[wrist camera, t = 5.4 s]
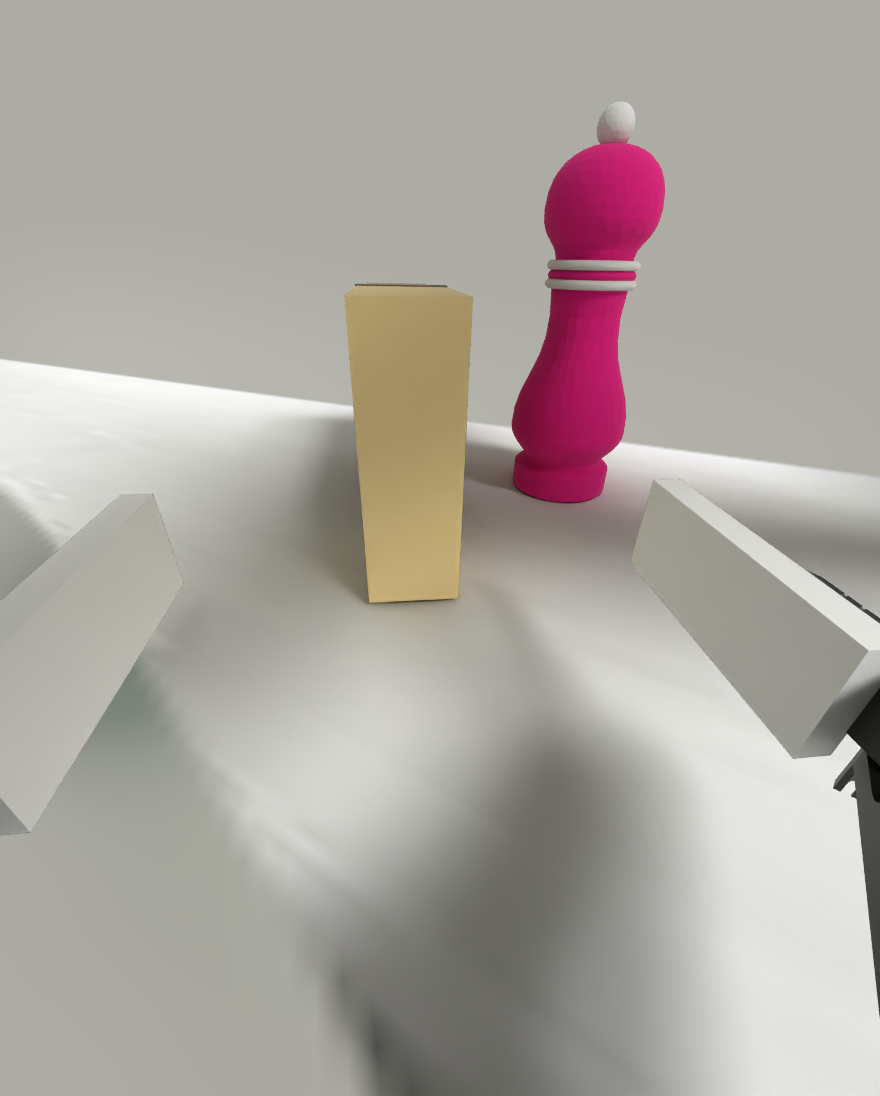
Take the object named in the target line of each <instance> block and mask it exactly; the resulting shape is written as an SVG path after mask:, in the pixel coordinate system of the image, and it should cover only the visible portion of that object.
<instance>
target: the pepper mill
mask: <svg viewBox="0 0 880 1096" xmlns="http://www.w3.org/2000/svg"><path fill="white" fill-rule="evenodd" d="M634 126H635V113H634V111H633V109H632V107H631V106H630V105H629V104H628V103H626V102H616V103H613V104H612V105H610V106H609V107H607V108H606V110H605V111H604V112H603V114H602V115H601V117H600V119H599V122H598V126H597V138H598V140H599V143H600V145H595V146H592V147H590V148H587V149H585V150H583V151H581V152H579V153H578V154H576V155H574V156H573V157H572V158H571V159H570V160H568V161H567V162H566V163H565V164H564V166H563V167H562V168H561V169H560V171H559V172H558V173H557V175H556V177H555V178H554V180H553V182H552V185H551V187H550V190H549V192H548V196H547V201H546V206H545V215H544V224H545V229H546V233H547V235H548V237H549V239H550V241H551V243H552V245H553V247H554V250H555V255H556V260H550V261H549V262H548V264H547V265H548V268H549V269H551V271H550V272H549V273H548V277H549V279H547V280H546V282H545V285H546V286H547V287H548V288H551V306H550V317H549V322H548V328H547V333H546V337H545V340H544V343H543V346H542V349H541V352H540V354H539V356H538V358H537V361H536V362H535V364H534V366H533V368H532V370H531V372H530V374H529V376H528V378H527V380H526V381H525V383H524V385H523V387H522V389H521V391H520V394H519V397H518V399H517V402H516V404H515V408H514V413H513V418H512V431H513V433H514V436H515V438H516V439H517V441H518V442H519V444H520V445H521V447H522V448H523V449H524V450H523V451H521V452H520V453H519V454H518V455H517V456H516V458H515V465H514V474H513V481H514V483H515V485H516V486H517V488H518V489H520V490H521V491H523V492H524V493H526V494H528V495H530V496H533V497H536V498H539V499H543V500H548V501H553V502H565V503H567V502H581V501H586V500H591V499H593V498H595V497H597V496H598V495H600V493H601V492H602V490H603V487H604V482H605V477H606V473H607V465H606V464H605V462H604V461H603V460H602V459H601V458H603V457H604V456H605V455H607V454H608V453H609V452H611V451H612V450H613V449H614V448H615V447H616V446H617V445H618V444H619V442H620V441H621V439H622V436H623V433H624V427H625V420H626V405H625V395H624V390H623V384H622V379H621V375H620V369H619V362H618V334H619V326H620V318H621V314H622V310H623V307H624V303H625V299H626V295H627V292H628V291H630V290H633V289H635V288H636V282H635V281H634V280H635V278H636V273H635V272H634V271H637V270H638V269H639V268H640V266H641V265H640V263H639V262H638V261H634V257H635V255H636V253H637V251H638V250H639V249H640V247H641V246H642V245H643V244H644V243H645V242H646V241H647V240H648V239H649V237H650V236H651V235H652V234H653V232H654V231H655V229H656V227H657V225H658V223H659V221H660V217H661V214H662V211H663V205H664V196H665V184H664V177H663V173H662V169H661V168H660V165H659V164H658V162H657V161H656V160H655V158H654V157H653V156H652V155H651V154H650V153H649V152H647V151H646V150H644V149H642V148H640V147H638V146H635V145H631V144H627V141H628V140H629V138H630V137H631V135H632V133H633V130H634Z"/></svg>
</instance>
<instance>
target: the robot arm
mask: <svg viewBox="0 0 880 1096" xmlns="http://www.w3.org/2000/svg"><path fill="white" fill-rule="evenodd" d="M630 563H631V564H632V565H633V567H634V568H635V569H636V570H637V571H638V573H639V574H640V575H641V576H642V577H643V579H644V580H645V581H646V582H647V584H648V585H649V586H650V587H651V588H652V590H653V591H654V592H655V593H656V594H657V596H658V597H659V598H660V599H661V600H662V602H663V603H664V604H665V605H666V606H667V608H668V609H669V610H670V611H671V612H672V614H673V615H674V616H675V617H676V618H677V620H678V621H679V622H680V623H681V624H682V626H683V627H684V628H685V629H686V630H687V632H688V633H689V634H690V635H691V636H692V638H693V639H694V640H695V641H696V642H697V644H698V645H699V646H700V647H701V648H702V650H703V651H704V652H705V653H706V654H707V656H708V657H709V658H710V659H711V661H712V662H713V663H714V664H715V665H716V667H717V668H718V669H719V670H720V671H721V673H722V674H723V675H724V676H725V677H726V679H727V680H728V681H729V682H730V683H731V685H732V686H733V687H734V688H735V689H736V691H737V692H738V693H739V694H740V695H741V697H742V698H743V699H744V700H745V701H746V703H747V704H748V705H749V706H750V707H751V709H752V710H753V711H754V712H755V713H756V715H757V716H758V717H759V718H760V719H761V721H762V722H763V723H764V724H765V725H766V727H767V728H768V729H769V730H770V731H771V733H772V734H773V735H774V736H775V737H776V739H777V740H778V741H779V742H780V744H781V745H782V746H783V747H784V748H785V750H786V751H787V752H788V753H789V754H790V756H791V757H792V758H793V759H796V758H807V757H817V756H827V755H831V754H832V753H833V751H834V750H835V749H836V747H837V746H838V745H839V743H840V742H841V741H842V739H843V738H844V737H845V736H846V734H848V735H849V736H850V737H851V738H852V739H853V740H854V741H855V742H856V743H857V744H858V745H859V746H860V747H861V749H860V750H859V751H858V753H857V754H856V755H855V756H854V758H853V759H852V760H851V761H850V763H849V764H848V765H847V766H846V768H845V769H844V770H843V771H842V772H841V774H840V775H839V776H838V777H837V779H836V780H835V783H834V787H833V788H834V789H836V790H838V791H841V790H842V789H843V788H844V787H845V786H846V784H847V783H848V782H850V781H855V788H856V790H855V791H854V792H853V793H852V794H851V797H854V798H856V799H857V807H858V816H859V826H860V835H861V845H862V854H863V864H864V873H865V883H866V892H867V902H868V911H869V921H870V930H871V940H872V949H873V959H874V968H875V977H876V987H877V996H878V1006H879V1015H880V618H878V617H877V616H876V615H874V614H873V613H871V612H870V611H869V610H867V609H862V605H860V604H859V603H857V602H856V601H855V600H853V599H852V598H850V597H849V596H844V593H843V592H842V591H841V590H839V589H838V588H836V587H835V586H834V585H832V584H831V583H829V582H828V581H827V580H825V579H824V578H822V577H820V576H818V575H816V574H814V573H812V572H809V571H807V570H805V569H803V568H802V567H801V566H799V565H798V564H797V563H795V562H794V561H792V560H791V559H790V558H788V557H787V556H785V555H784V554H783V553H781V552H780V551H779V550H777V549H776V548H774V547H773V546H772V545H770V544H769V543H767V542H766V541H765V540H763V539H762V538H761V537H759V536H758V535H756V534H755V533H754V532H752V531H751V530H749V529H748V528H747V527H745V526H744V525H743V524H741V523H740V522H738V521H737V520H736V519H734V518H733V517H731V516H730V515H729V514H727V513H726V512H725V511H723V510H722V509H720V508H719V507H718V506H716V505H715V504H713V503H712V502H711V501H709V500H708V499H707V498H705V497H704V496H702V495H701V494H700V493H698V492H697V491H695V490H694V489H693V488H691V487H690V486H689V485H687V484H686V483H684V482H683V481H682V480H680V479H660V480H653V483H652V487H651V490H650V494H649V497H648V501H647V504H646V508H645V512H644V515H643V519H642V522H641V526H640V529H639V533H638V536H637V540H636V543H635V547H634V550H633V554H632V557H631V561H630ZM183 585H184V582H183V579H182V576H181V573H180V570H179V568H178V565H177V562H176V559H175V556H174V553H173V550H172V547H171V544H170V541H169V538H168V535H167V533H166V530H165V527H164V524H163V521H162V518H161V515H160V512H159V509H158V506H157V503H156V500H155V498H154V495H153V494H133V495H120V496H119V497H117V498H116V499H115V500H114V501H113V502H112V503H111V504H110V505H108V506H107V507H106V508H105V509H104V510H103V511H102V512H101V513H99V514H98V515H97V516H96V517H95V518H94V519H93V520H91V521H90V522H89V523H88V524H87V525H86V526H85V527H84V528H82V529H81V530H80V531H79V532H78V533H77V534H76V535H75V536H73V537H72V538H71V539H70V540H69V541H68V542H67V543H66V544H64V545H63V546H62V547H61V548H60V549H59V550H58V551H56V552H55V553H54V554H53V555H52V556H51V557H50V558H49V559H47V560H46V561H45V562H44V563H43V564H42V565H41V566H40V567H38V569H36V570H35V571H34V572H33V573H32V574H31V575H30V576H28V577H27V578H26V579H25V580H24V581H23V582H21V583H20V584H19V585H18V586H17V587H16V588H15V589H14V590H12V591H11V592H10V593H9V594H8V595H7V596H6V597H5V598H3V599H2V600H1V601H0V835H9V834H20V833H30V832H31V831H32V829H33V828H34V826H35V824H36V823H37V821H38V819H39V818H40V816H41V815H42V813H43V811H44V810H45V808H46V806H47V805H48V803H49V801H50V800H51V798H52V797H53V795H54V794H55V792H56V790H57V789H58V787H59V785H60V784H61V782H62V781H63V779H64V777H65V776H66V774H67V772H68V771H69V769H70V768H71V766H72V764H73V763H74V761H75V760H76V758H77V756H78V754H79V753H80V751H81V750H82V748H83V746H84V745H85V743H86V742H87V740H88V738H89V737H90V735H91V733H92V732H93V730H94V729H95V727H96V725H97V724H98V722H99V720H100V719H101V717H102V716H103V714H104V713H105V711H106V709H107V708H108V706H109V704H110V703H111V701H112V700H113V698H114V696H115V695H116V693H117V691H118V690H119V688H120V687H121V685H122V683H123V682H124V680H125V679H126V677H127V675H128V673H129V672H130V670H131V669H132V667H133V666H134V664H135V662H136V661H137V659H138V657H139V656H140V654H141V653H142V651H143V649H144V648H145V646H146V644H147V643H148V641H149V640H150V638H151V636H152V635H153V633H154V632H155V630H156V628H157V627H158V625H159V623H160V622H161V620H162V619H163V617H164V615H165V614H166V612H167V610H168V609H169V607H170V606H171V604H172V602H173V601H174V599H175V597H176V596H177V594H178V593H179V591H180V589H181V588H182V586H183Z"/></svg>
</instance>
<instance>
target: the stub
mask: <svg viewBox="0 0 880 1096" xmlns="http://www.w3.org/2000/svg"><path fill="white" fill-rule="evenodd" d="M472 304H473V297H471V296H468V295H466V294H463V293H460V292H458V291H455V290H452V289H450V288H447V286H446V285H396V284H355V287H354V288H353V289H352V290H350V292H348V293H347V294H346V295H345V309H346V321H347V333H348V346H349V359H350V371H351V383H352V396H353V408H354V420H355V433H356V445H357V457H358V470H359V482H360V494H361V507H362V519H363V531H364V544H365V556H366V568H367V581H368V593H369V603H374V602H394V601H413V600H433V599H452V598H458V592H459V572H460V551H461V531H462V511H463V490H464V470H465V449H466V429H467V407H468V387H469V386H468V385H469V367H470V347H471V326H472Z"/></svg>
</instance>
